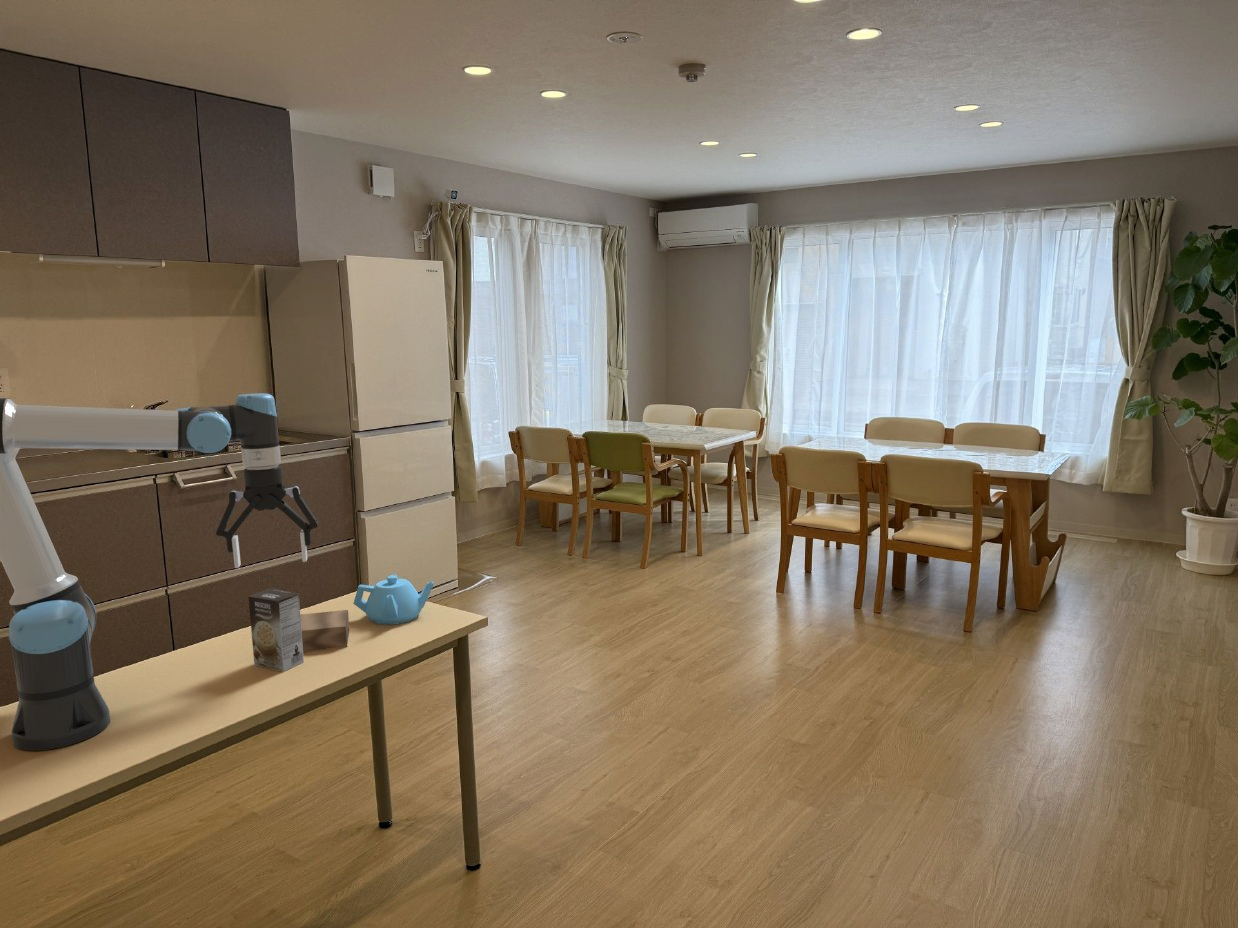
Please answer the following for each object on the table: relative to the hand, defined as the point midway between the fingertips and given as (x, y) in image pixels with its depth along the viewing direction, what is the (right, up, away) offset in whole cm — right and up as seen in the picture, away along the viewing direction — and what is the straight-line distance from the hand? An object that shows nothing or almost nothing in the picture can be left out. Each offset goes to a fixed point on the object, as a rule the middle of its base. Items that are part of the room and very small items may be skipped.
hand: (271, 563), depth 182 cm
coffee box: (0, -23, +4) cm, 23 cm away
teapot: (+18, -18, +33) cm, 42 cm away
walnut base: (+5, -20, +17) cm, 27 cm away
